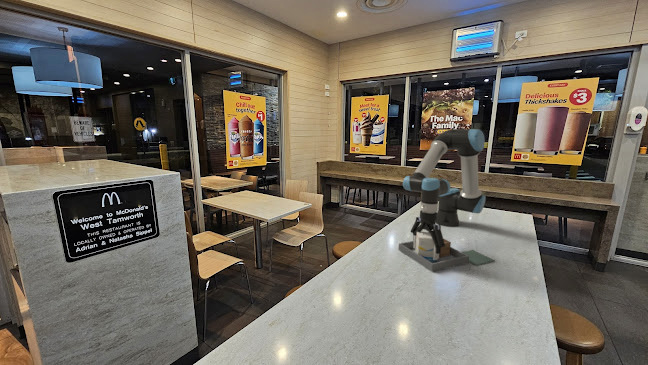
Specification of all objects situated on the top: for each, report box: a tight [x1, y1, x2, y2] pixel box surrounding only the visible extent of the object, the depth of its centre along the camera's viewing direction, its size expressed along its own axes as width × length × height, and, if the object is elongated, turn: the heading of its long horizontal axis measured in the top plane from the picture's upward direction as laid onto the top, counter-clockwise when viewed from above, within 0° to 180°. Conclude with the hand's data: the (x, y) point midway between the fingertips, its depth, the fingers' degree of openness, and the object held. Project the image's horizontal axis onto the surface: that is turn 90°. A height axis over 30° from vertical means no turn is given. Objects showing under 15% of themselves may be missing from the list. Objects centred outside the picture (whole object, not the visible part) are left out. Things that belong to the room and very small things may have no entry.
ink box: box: [414, 231, 437, 263], centre depth 130 cm, size 9×8×12 cm
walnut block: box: [439, 238, 452, 258], centre depth 134 cm, size 5×6×7 cm
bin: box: [398, 240, 470, 273], centre depth 132 cm, size 24×22×4 cm
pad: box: [461, 249, 496, 267], centre depth 131 cm, size 12×12×1 cm
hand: (425, 253), depth 131 cm, fingers open, 13 cm apart
